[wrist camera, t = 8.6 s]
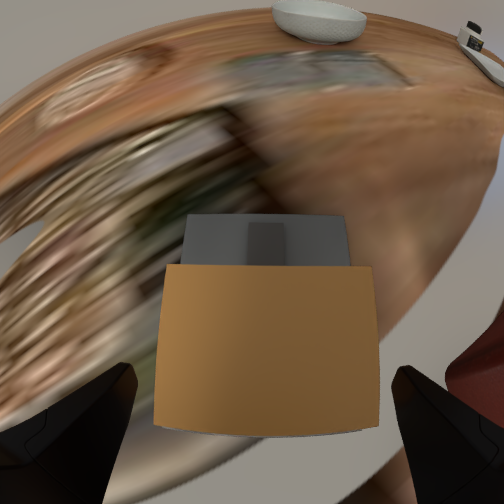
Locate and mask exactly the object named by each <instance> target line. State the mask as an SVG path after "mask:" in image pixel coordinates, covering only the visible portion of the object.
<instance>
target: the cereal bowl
mask: <svg viewBox="0 0 504 504" xmlns="http://www.w3.org/2000/svg"><path fill="white" fill-rule="evenodd" d="M272 13H273V18H274V20H275V22H276V24H277V25H278V26H279V27H280V28H281V29H282V30H284V31H285V32H287V33H289V34H292V35H294V36H297V37H298V38H299V39H301V40H304V41H307V42H310V43H315V44H323V45H333V44H337V43H338V42H345V41H350V40H353V39H355V38H357V37H358V36H360V35H361V34H362V32H363V31H364V28H365V26H366V20H367V18H366V16H365V15H364V14H363V13H361V12H359V11H356V10H354V9H352V8H349V7H346V6H343V5H339V4H335V3H330V2H325V1H318V0H282V1H277V2H275V3H273V4H272Z"/></svg>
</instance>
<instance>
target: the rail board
mask: <svg viewBox="0 0 504 504" xmlns="http://www.w3.org/2000/svg"><path fill="white" fill-rule="evenodd" d="M249 222H259V223H284V254H285V266H351V265H350V256H349V248H348V241H347V233H346V227H345V220H344V216H332V215H296V214H188V216H187V222H186V229H185V235H184V242H183V249H182V256H181V263H180V264H190V265H247V251H248V225H249Z"/></svg>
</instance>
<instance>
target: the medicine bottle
mask: <svg viewBox="0 0 504 504" xmlns="http://www.w3.org/2000/svg"><path fill="white" fill-rule="evenodd" d="M466 28H467V29H465V28H463V27H461V29H460V32H459V35H458V38H457V41H458V42H459V43H460V44H462V45H465V46H467V47H469V48H471V49H473V50H475V51H477V52H479V53H480V51H481V49H482V46H483V43H484V41H483V40H482V39H481V38H479V37H480V36H481V34H482V31H483V30H482V28H481V27H480V26H478V25H477V24H475V23H473V22H471V21H468V24H467V27H466Z"/></svg>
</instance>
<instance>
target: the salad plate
mask: <svg viewBox="0 0 504 504" xmlns="http://www.w3.org/2000/svg"><path fill="white" fill-rule="evenodd" d="M459 45H460V47H461V49H462V50H463V52H464V53H465V54H466V55H467V56H468V57H469V58H470V59H471V60H472V61H473V62H474V63H475V64H476V65H477V66H478V67H479V68H480V69H481V70H482V71H483V72H484V73H485V74H486V76H487V77H488V78H490V79H491V80H492V81H493V82H495V83H496V84H498V85H499V86H501V87H503V88H504V68H503V67H502V66H501V65H499V64H498V63H496V62H495V61H493V60H491V59H490V58H488V57H486V56H484V55H483V54H481V53H479V52H477V51H475V50H473V49H471V48H469V47H467V46H465V45H462V44H460V43H459Z"/></svg>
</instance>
